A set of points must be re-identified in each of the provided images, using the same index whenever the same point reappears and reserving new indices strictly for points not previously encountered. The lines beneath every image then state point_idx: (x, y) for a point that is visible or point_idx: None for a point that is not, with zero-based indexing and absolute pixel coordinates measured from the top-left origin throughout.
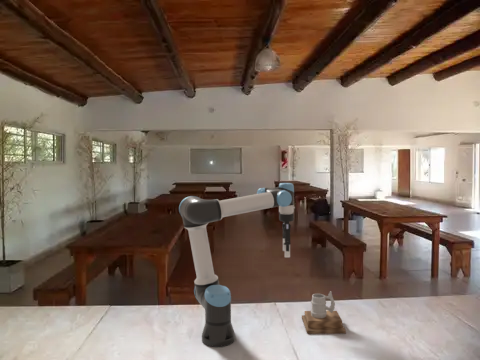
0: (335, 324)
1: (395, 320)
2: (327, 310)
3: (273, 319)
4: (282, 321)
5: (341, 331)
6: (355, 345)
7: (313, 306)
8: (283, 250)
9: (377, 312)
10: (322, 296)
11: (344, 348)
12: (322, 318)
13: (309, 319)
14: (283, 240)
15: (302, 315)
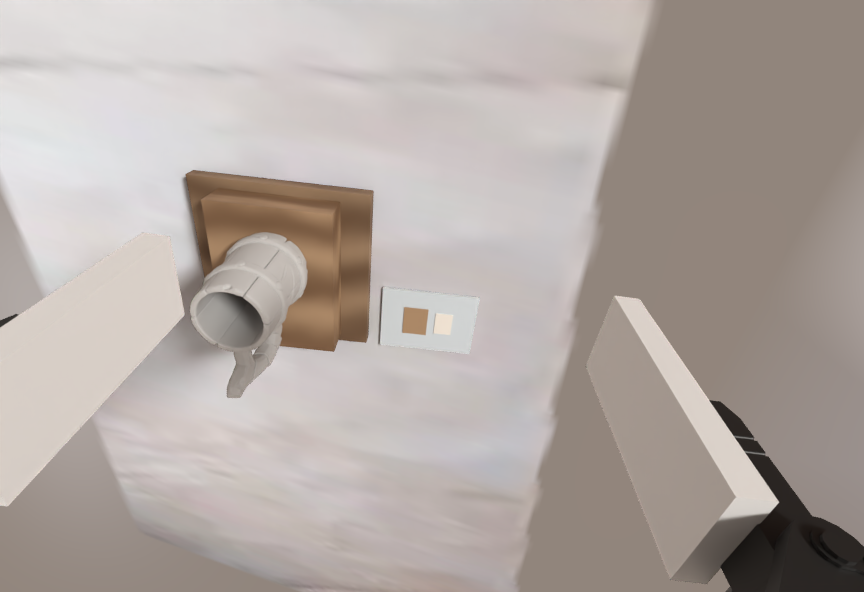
0: None
1: (340, 480)
2: (444, 323)
3: (365, 20)
4: (335, 74)
5: None
6: None
7: (226, 261)
8: (612, 309)
9: (410, 463)
10: (256, 338)
11: None
12: None
13: (217, 209)
14: (699, 464)
15: (369, 198)
